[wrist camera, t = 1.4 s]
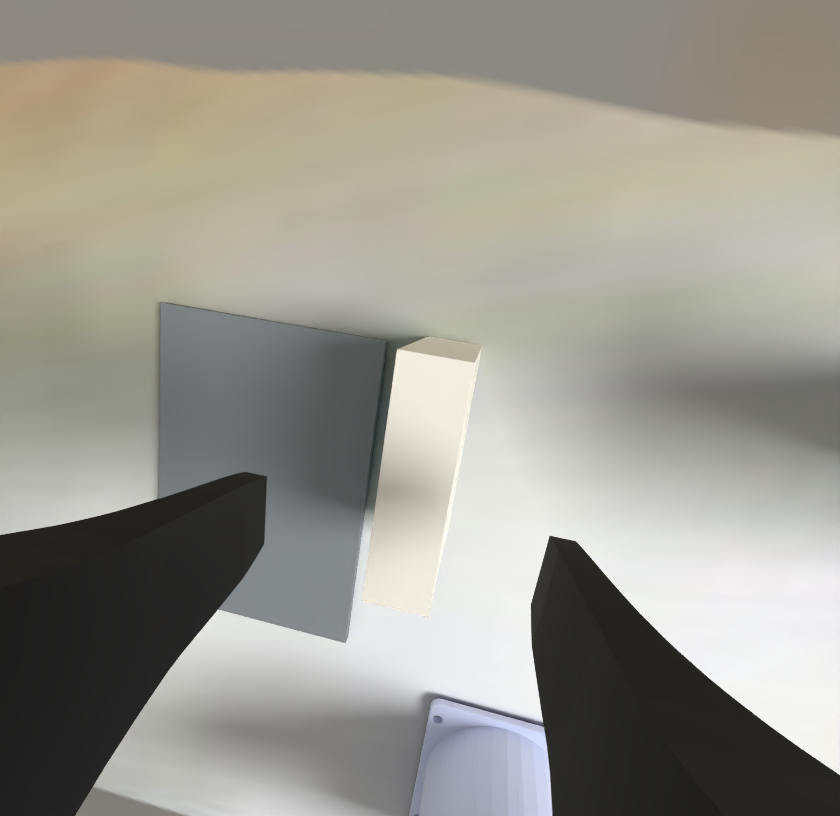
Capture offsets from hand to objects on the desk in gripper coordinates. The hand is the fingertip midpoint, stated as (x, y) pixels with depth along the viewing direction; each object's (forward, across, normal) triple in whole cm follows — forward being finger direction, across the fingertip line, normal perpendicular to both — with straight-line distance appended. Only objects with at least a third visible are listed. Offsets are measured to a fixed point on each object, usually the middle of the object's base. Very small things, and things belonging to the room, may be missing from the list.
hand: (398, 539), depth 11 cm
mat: (+10, +8, +5) cm, 14 cm away
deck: (+10, 0, +1) cm, 10 cm away
